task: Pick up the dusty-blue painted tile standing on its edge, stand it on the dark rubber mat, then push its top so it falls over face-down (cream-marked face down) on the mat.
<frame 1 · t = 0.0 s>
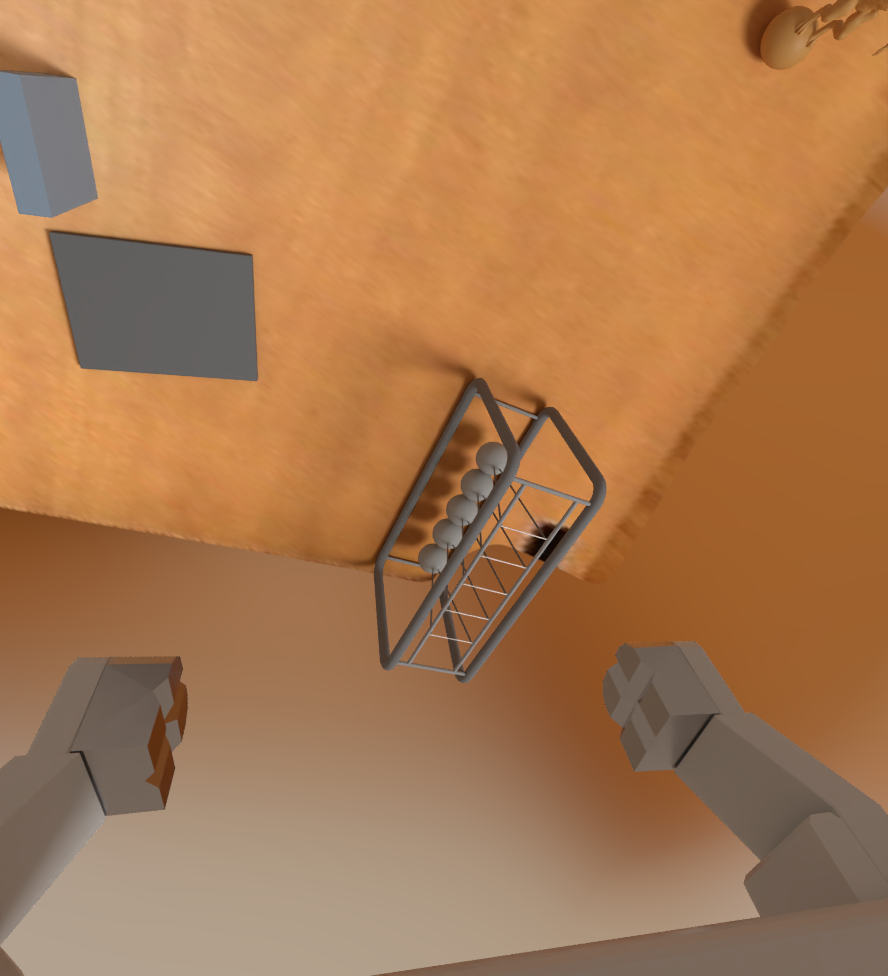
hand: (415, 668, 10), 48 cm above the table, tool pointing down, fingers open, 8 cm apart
mat: (165, 312, 51), on the table
figurine: (781, 27, 46), on the table
tile: (73, 139, 43), on the table
newton's cradle: (455, 488, 68), on the table
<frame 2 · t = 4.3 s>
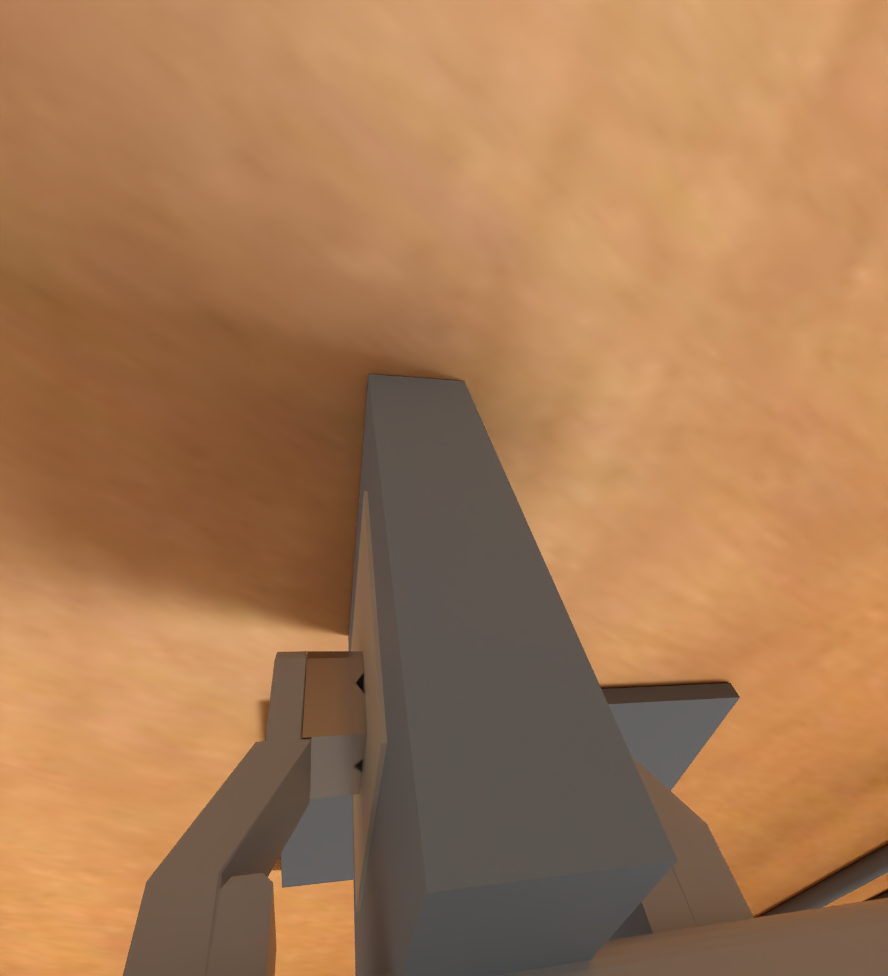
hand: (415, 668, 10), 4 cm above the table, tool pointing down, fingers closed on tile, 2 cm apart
mat: (489, 784, 22), on the table
tile: (397, 528, 14), on the table, touching gripper
newton's cradle: (854, 882, 39), on the table
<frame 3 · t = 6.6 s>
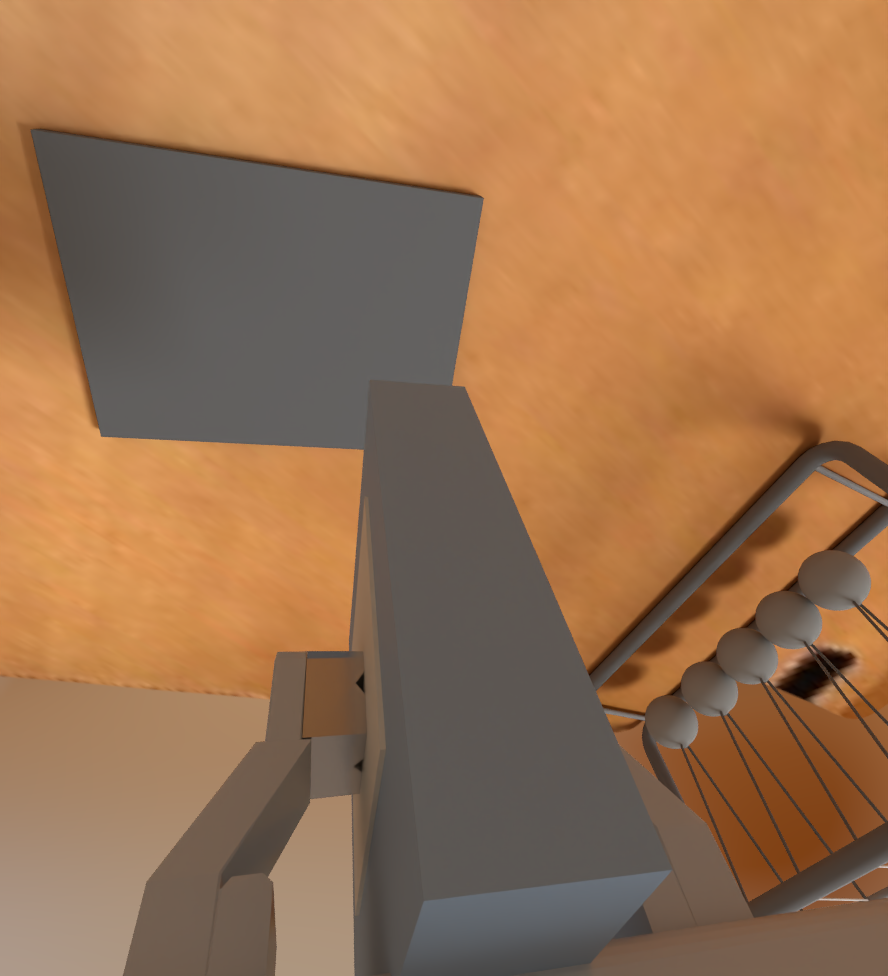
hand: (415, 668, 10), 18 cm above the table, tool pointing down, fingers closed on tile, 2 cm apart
mat: (280, 321, 24), on the table
tile: (398, 532, 14), point 14 cm above the table, touching gripper
newton's cradle: (711, 607, 41), on the table
when the fingers open (5 cm above the table, at t = 9.1 s): tile stays where it is, resting on mat.
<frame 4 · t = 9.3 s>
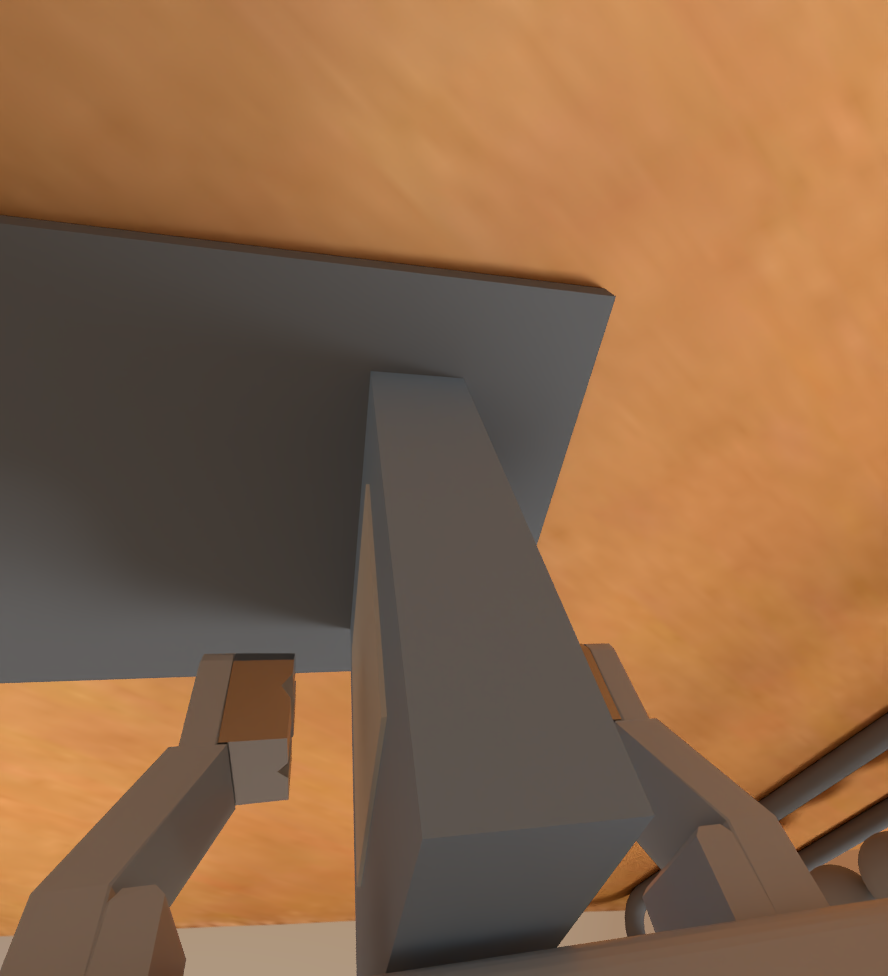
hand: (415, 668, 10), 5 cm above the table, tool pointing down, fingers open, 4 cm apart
mat: (231, 500, 13), on the table
tile: (398, 521, 14), point 1 cm above the table, touching mat
newton's cradle: (839, 785, 31), on the table
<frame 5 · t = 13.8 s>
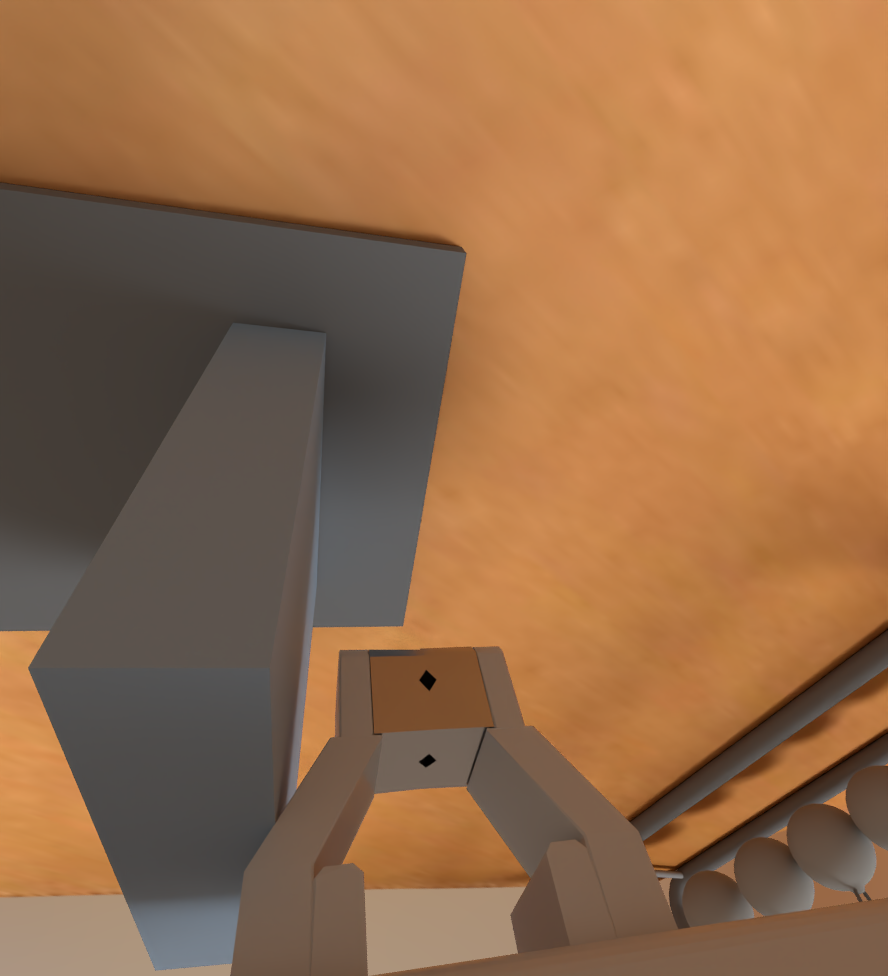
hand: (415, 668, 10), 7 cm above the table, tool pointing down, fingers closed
mat: (117, 453, 14), on the table
tile: (281, 476, 14), point 1 cm above the table, touching gripper, mat
newton's cradle: (774, 761, 31), on the table
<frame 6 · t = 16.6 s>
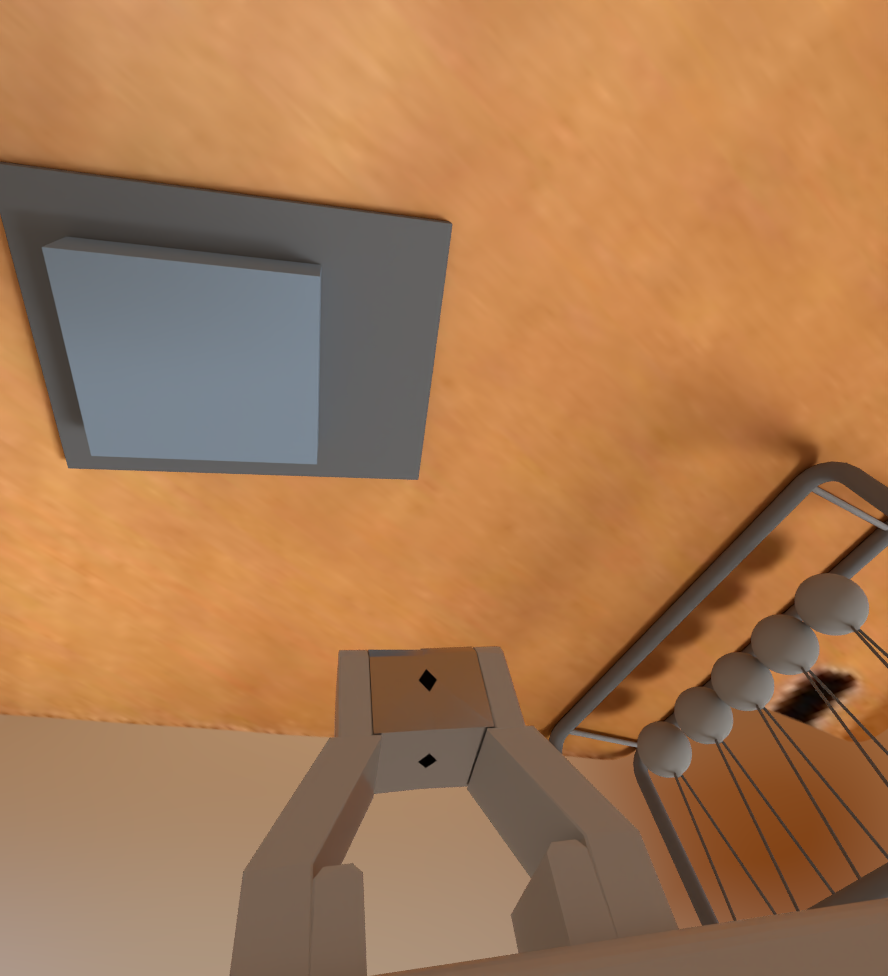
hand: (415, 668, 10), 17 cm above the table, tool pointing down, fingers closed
mat: (249, 349, 24), on the table
tile: (319, 370, 23), point 2 cm above the table, tilted 90°, touching mat
newton's cradle: (705, 630, 41), on the table
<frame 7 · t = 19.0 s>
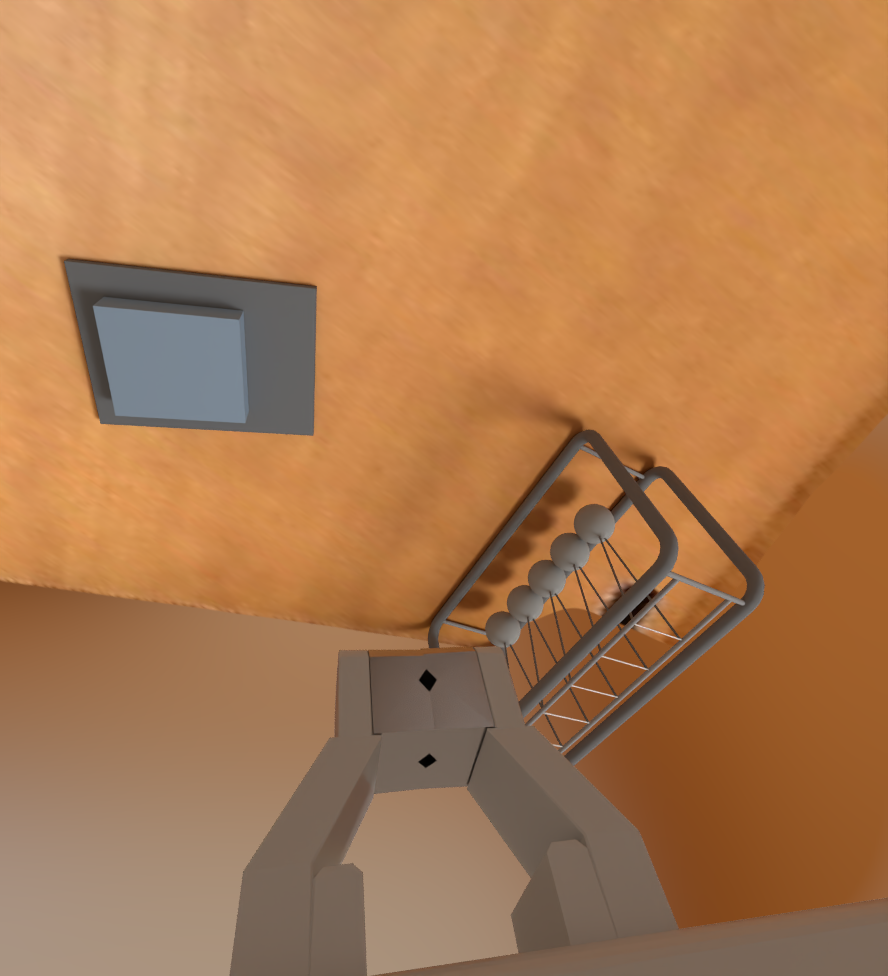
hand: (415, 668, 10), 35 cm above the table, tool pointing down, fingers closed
mat: (205, 355, 41), on the table
tile: (244, 368, 40), point 2 cm above the table, tilted 90°, touching mat
newton's cradle: (534, 549, 58), on the table
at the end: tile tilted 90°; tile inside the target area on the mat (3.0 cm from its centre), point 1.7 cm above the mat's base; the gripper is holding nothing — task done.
